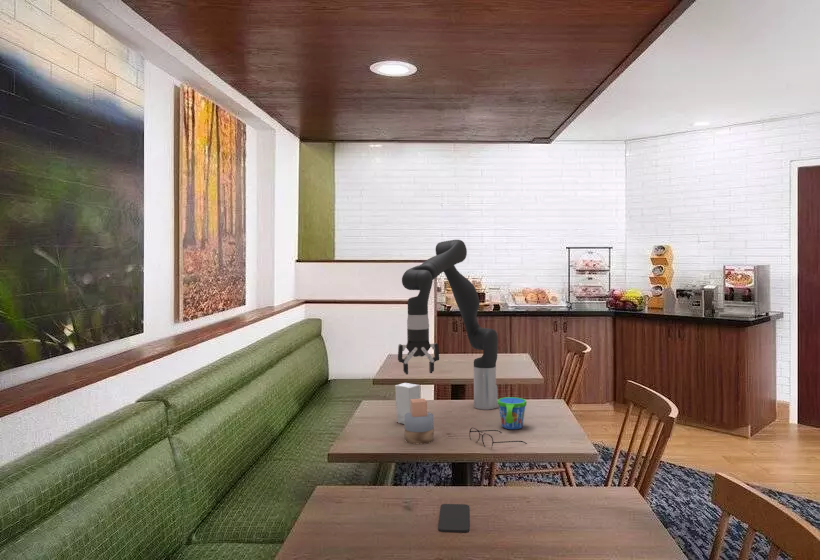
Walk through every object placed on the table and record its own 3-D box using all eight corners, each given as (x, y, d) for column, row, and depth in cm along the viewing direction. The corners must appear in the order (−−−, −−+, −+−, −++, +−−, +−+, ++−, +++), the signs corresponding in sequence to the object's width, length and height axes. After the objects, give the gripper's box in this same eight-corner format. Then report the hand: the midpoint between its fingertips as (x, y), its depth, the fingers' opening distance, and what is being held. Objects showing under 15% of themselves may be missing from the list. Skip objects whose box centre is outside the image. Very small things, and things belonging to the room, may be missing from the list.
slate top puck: (430, 423, 216) (430, 410, 216) (435, 431, 206) (435, 418, 206) (402, 424, 214) (402, 412, 214) (406, 432, 204) (406, 419, 204)
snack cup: (503, 420, 233) (503, 394, 232) (530, 423, 229) (530, 396, 228) (492, 431, 218) (492, 403, 218) (521, 434, 214) (521, 406, 214)
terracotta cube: (424, 412, 213) (424, 398, 213) (426, 416, 208) (426, 401, 208) (410, 413, 213) (410, 399, 212) (412, 416, 208) (412, 402, 208)
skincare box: (421, 423, 230) (421, 384, 229) (410, 426, 226) (409, 387, 225) (406, 419, 236) (406, 381, 235) (395, 422, 232) (394, 384, 231)
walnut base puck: (430, 435, 216) (430, 422, 216) (436, 444, 206) (436, 431, 206) (403, 437, 215) (403, 424, 214) (407, 445, 205) (407, 432, 204)
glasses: (468, 440, 210) (469, 426, 210) (502, 438, 217) (504, 425, 217) (491, 452, 197) (493, 437, 197) (527, 450, 204) (529, 435, 204)
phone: (469, 504, 155) (469, 530, 140) (469, 507, 155) (469, 534, 140) (440, 503, 156) (437, 529, 141) (440, 506, 156) (437, 533, 141)
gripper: (436, 325, 214) (436, 370, 215) (396, 326, 212) (397, 372, 213) (440, 327, 207) (440, 374, 207) (399, 329, 205) (399, 376, 205)
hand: (418, 373), depth 210 cm, fingers open, 8 cm apart
